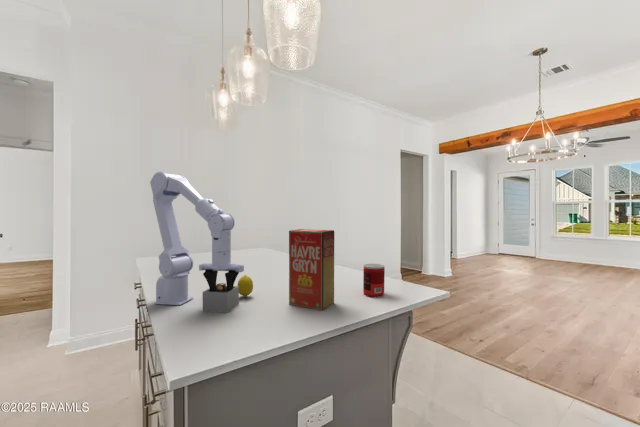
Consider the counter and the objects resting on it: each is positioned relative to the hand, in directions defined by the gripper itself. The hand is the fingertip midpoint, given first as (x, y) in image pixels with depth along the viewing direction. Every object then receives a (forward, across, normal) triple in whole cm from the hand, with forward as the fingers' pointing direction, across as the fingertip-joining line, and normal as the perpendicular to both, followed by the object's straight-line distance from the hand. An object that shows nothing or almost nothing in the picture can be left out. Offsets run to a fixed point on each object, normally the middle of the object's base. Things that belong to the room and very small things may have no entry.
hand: (221, 293), depth 95 cm
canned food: (+5, +49, +24) cm, 55 cm away
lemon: (+5, +3, +12) cm, 13 cm away
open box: (+5, 0, 0) cm, 5 cm away
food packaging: (+5, +28, +9) cm, 30 cm away
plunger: (+4, 0, 0) cm, 4 cm away
